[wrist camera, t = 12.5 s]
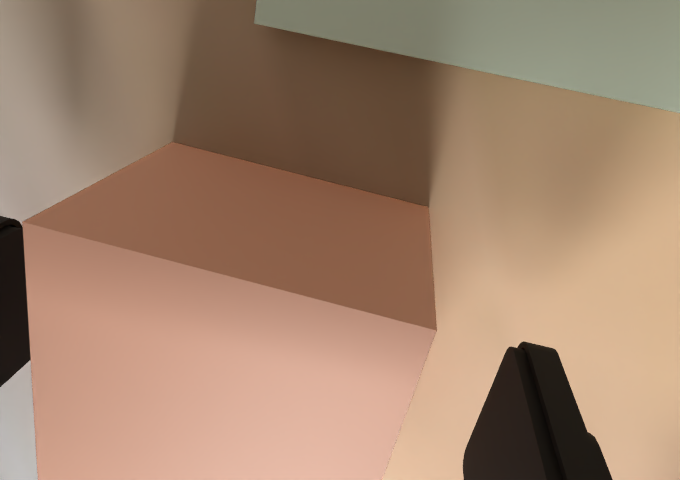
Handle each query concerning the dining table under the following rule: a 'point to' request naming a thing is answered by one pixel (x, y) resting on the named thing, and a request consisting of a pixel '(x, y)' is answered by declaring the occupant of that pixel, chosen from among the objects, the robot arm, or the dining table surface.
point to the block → (224, 323)
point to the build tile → (513, 39)
